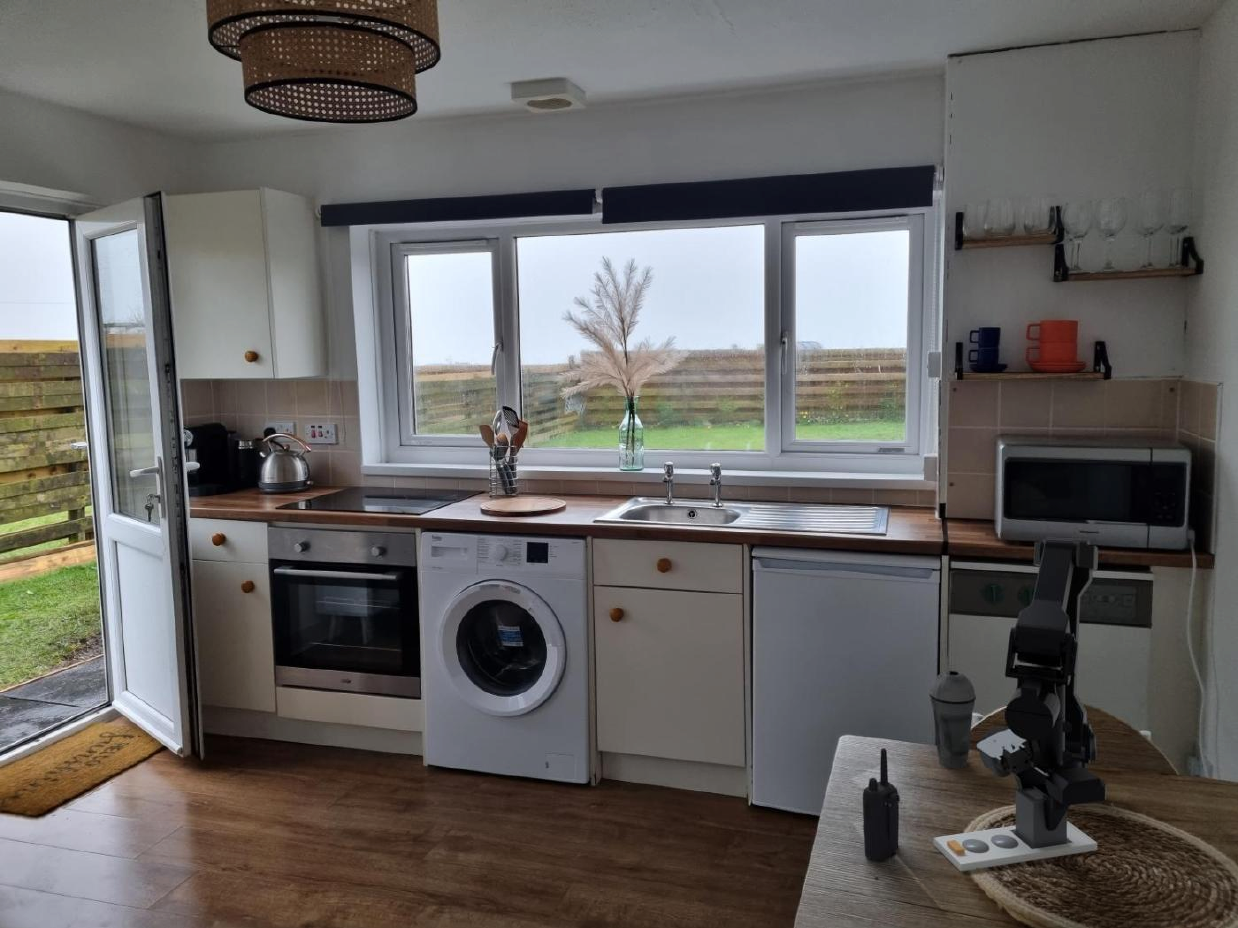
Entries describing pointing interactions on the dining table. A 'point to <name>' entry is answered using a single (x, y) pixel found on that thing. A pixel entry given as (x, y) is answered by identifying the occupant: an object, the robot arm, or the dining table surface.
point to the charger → (1036, 821)
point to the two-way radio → (881, 815)
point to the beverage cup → (952, 715)
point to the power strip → (1005, 847)
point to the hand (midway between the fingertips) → (1040, 822)
